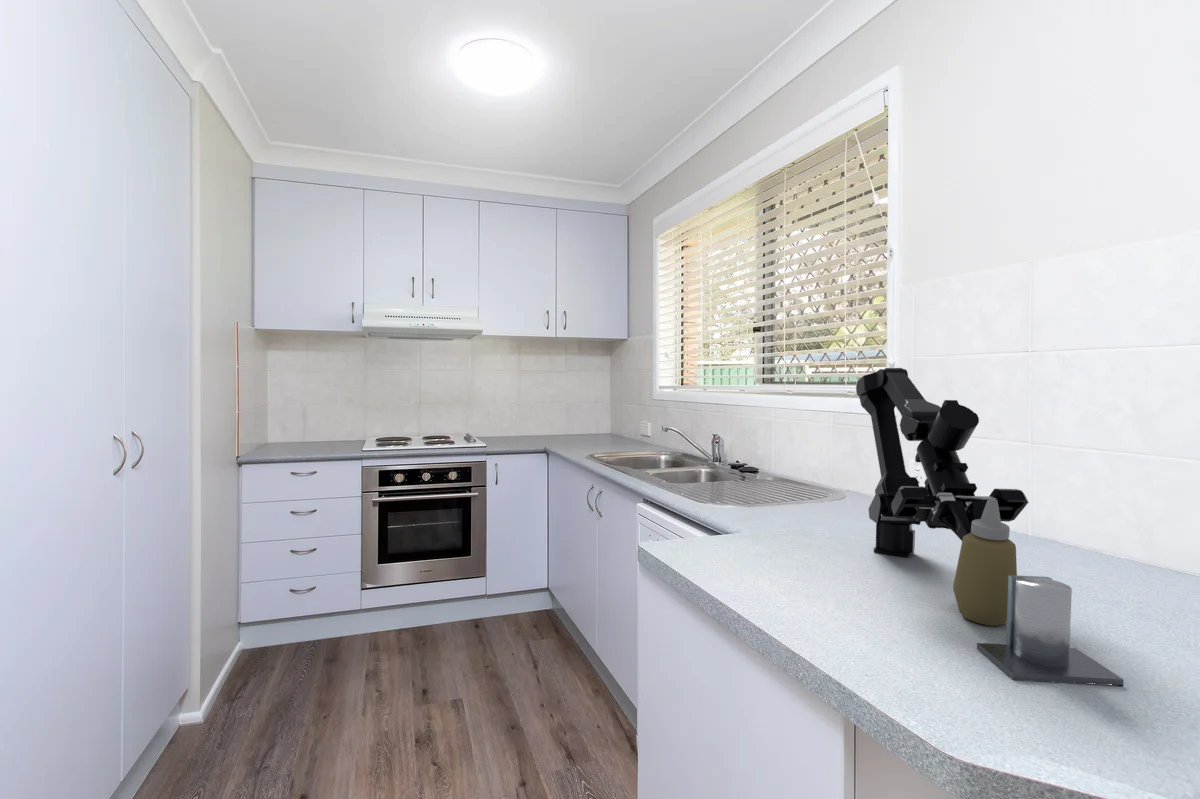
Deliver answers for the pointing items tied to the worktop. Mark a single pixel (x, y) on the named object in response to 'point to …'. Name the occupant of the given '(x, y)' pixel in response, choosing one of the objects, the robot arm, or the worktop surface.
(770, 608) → the worktop surface
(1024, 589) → the bookend
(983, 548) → the squeeze bottle
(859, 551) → the worktop surface
